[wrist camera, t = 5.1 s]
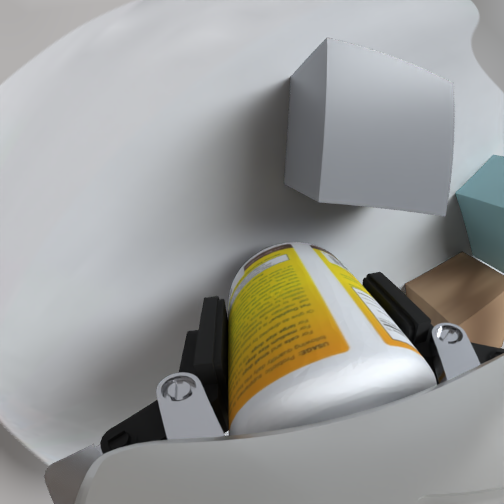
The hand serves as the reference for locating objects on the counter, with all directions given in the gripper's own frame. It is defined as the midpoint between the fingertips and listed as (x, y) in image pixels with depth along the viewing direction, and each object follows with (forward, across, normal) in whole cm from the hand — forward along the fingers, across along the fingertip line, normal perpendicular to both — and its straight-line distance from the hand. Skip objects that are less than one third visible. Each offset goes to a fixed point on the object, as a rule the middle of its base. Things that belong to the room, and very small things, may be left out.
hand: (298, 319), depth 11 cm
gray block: (+3, -3, -7) cm, 8 cm away
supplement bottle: (+2, 0, 0) cm, 2 cm away
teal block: (+4, -14, -3) cm, 15 cm away
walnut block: (+3, -10, +3) cm, 11 cm away
